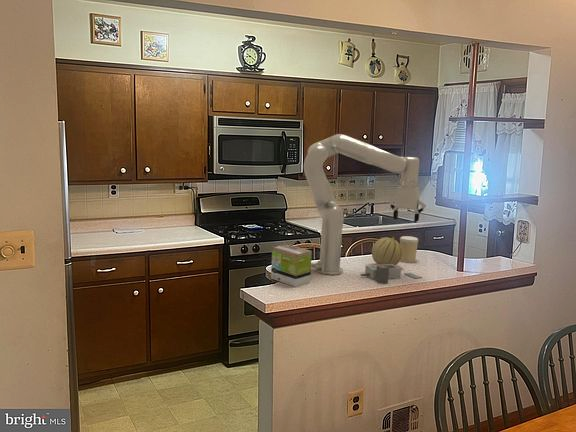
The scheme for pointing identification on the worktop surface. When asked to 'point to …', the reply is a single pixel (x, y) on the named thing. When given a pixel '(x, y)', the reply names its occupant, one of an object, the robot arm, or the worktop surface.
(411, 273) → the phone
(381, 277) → the charger
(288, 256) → the tea box
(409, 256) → the coffee cup
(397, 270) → the machine vise
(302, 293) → the worktop surface
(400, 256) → the cantaloupe
